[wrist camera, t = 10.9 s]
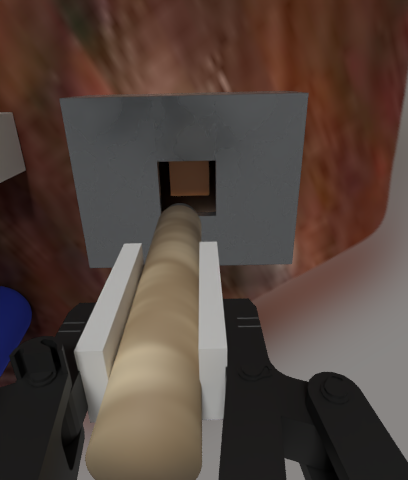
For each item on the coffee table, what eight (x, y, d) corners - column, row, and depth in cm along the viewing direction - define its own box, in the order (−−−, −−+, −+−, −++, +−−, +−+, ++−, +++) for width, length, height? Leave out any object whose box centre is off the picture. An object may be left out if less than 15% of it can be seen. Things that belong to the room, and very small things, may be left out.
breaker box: (109, 236, 37) (89, 267, 31) (88, 95, 31) (59, 98, 25) (276, 232, 37) (291, 263, 31) (286, 90, 31) (308, 92, 25)
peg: (161, 239, 22) (94, 499, 8) (157, 200, 21) (75, 425, 7) (201, 238, 22) (203, 496, 8) (200, 199, 21) (200, 422, 7)
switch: (173, 188, 35) (171, 195, 32) (170, 152, 33) (168, 157, 31) (208, 188, 35) (209, 195, 32) (208, 151, 33) (208, 156, 31)
